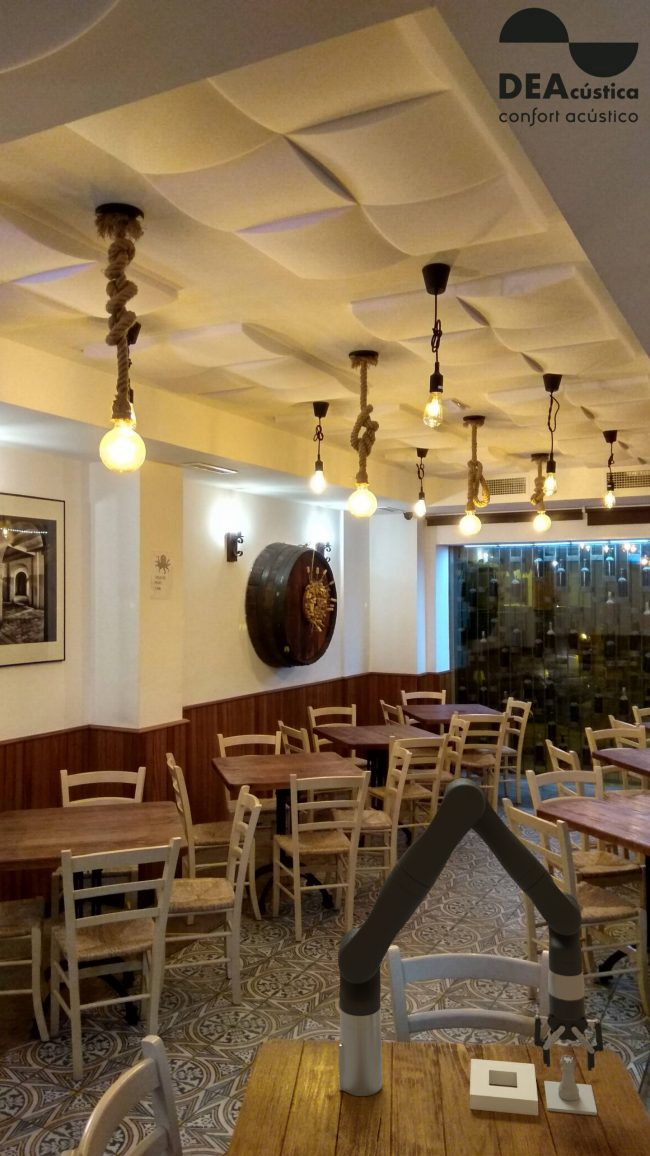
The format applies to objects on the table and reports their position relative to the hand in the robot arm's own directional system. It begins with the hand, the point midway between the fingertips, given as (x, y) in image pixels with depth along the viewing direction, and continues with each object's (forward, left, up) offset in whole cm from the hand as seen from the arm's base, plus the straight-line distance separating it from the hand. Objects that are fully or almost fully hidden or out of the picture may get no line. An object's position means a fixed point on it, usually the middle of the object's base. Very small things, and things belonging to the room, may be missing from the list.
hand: (568, 1067), depth 176 cm
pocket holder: (-14, 0, -7) cm, 16 cm away
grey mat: (0, 0, -7) cm, 7 cm away
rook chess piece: (0, 0, -6) cm, 6 cm away
